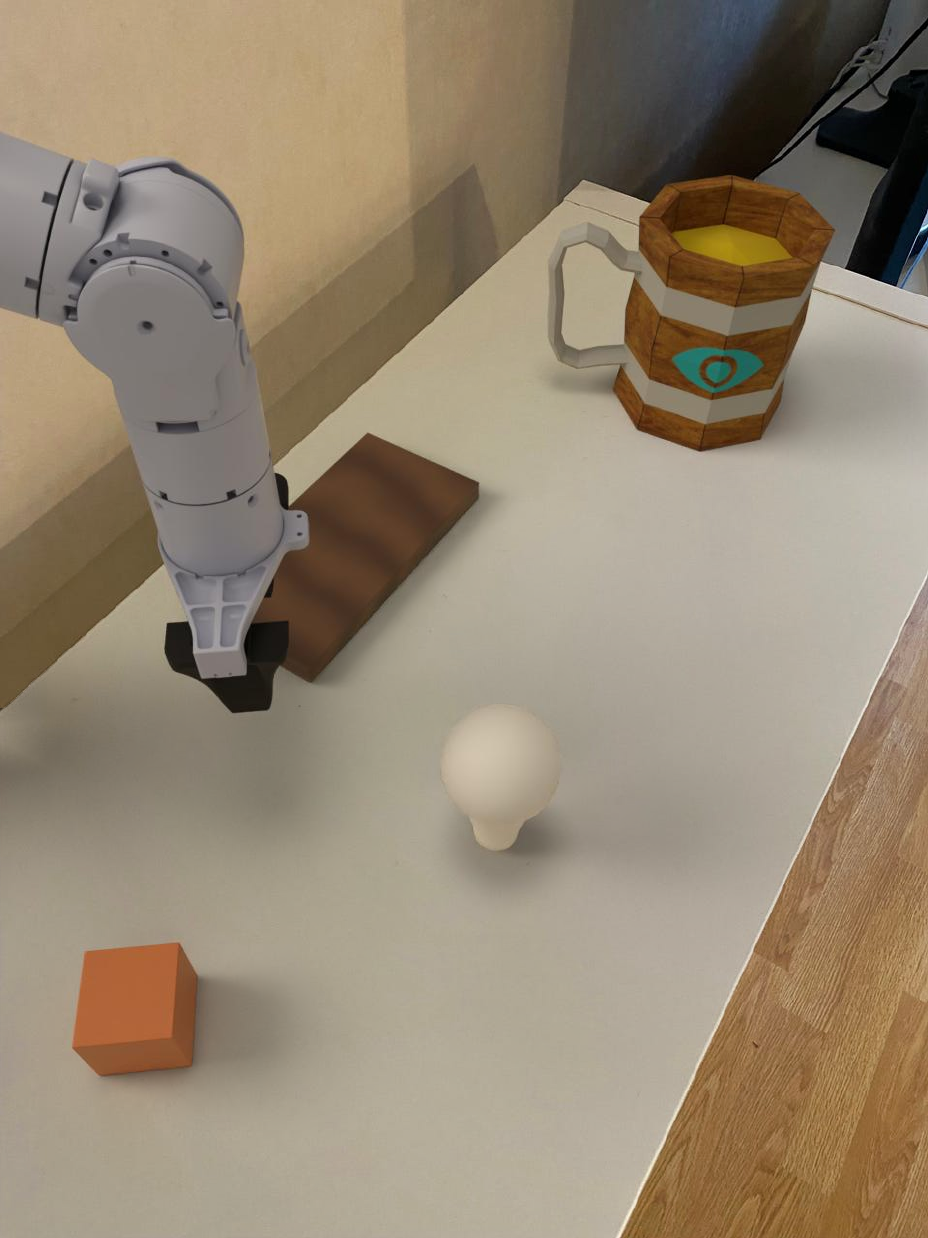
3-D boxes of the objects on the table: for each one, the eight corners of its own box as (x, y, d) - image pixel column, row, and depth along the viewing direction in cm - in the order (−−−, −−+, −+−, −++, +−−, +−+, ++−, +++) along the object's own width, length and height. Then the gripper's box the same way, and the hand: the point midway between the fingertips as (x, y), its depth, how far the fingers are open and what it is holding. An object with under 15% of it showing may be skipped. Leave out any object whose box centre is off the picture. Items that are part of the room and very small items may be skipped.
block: (98, 1076, 49) (71, 1048, 46) (108, 983, 52) (84, 950, 49) (192, 1066, 50) (172, 1038, 46) (197, 975, 52) (179, 941, 49)
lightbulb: (488, 909, 55) (495, 811, 46) (419, 829, 58) (414, 723, 49) (571, 844, 57) (593, 739, 49) (501, 770, 60) (509, 659, 52)
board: (310, 683, 64) (308, 669, 63) (191, 616, 67) (186, 601, 66) (479, 497, 75) (479, 482, 74) (368, 447, 78) (367, 431, 77)
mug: (773, 351, 86) (824, 180, 74) (788, 458, 78) (848, 285, 66) (542, 333, 87) (556, 163, 76) (532, 437, 79) (546, 263, 67)
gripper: (298, 577, 40) (329, 755, 51) (296, 354, 49) (322, 545, 60) (117, 590, 40) (186, 768, 50) (148, 362, 49) (202, 553, 59)
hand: (252, 648), depth 55 cm, fingers open, 7 cm apart
